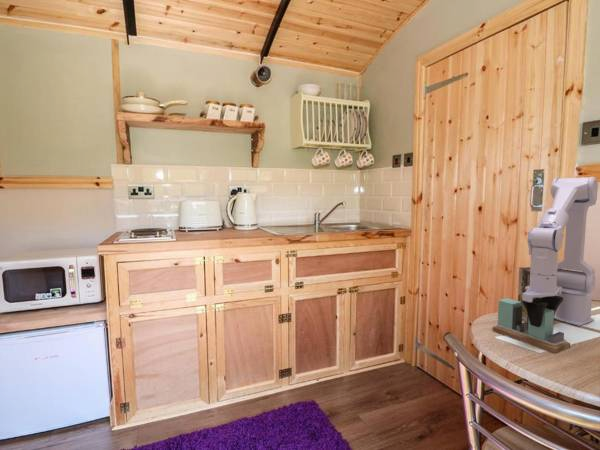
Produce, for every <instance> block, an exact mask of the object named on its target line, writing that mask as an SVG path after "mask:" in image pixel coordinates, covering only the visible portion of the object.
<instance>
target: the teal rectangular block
mask: <svg viewBox="0 0 600 450" xmlns="http://www.w3.org/2000/svg"><path fill="white" fill-rule="evenodd" d="M553 321H555V319H554V310H551V309H547V308H545V310H544V313H543V317H542V323H541V326H540V327H536V326H532V325H530V321H529V317H528V313H527V330H528V334H529V335H532V336H535V337H538V338H541V339H547V338H549V336H550V335H552V334H554V325H553Z"/></svg>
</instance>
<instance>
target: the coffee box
mask: <svg viewBox="0 0 600 450" xmlns="http://www.w3.org/2000/svg"><path fill="white" fill-rule="evenodd" d="M517 286H518V287H517V290H518V291H517V301H520V302H521V305H522V306H523V308H522V321H524V322H527V310H526V308H525V306H524V304H523V303H522V301H521V298H522V294H523V293H525V292H526V291H527V290H526V289H525V287H526V286H530V266H528V267H526V266H525V267H518V285H517ZM554 321H555V320H554ZM554 321H553V326H554V324H555V323H554Z"/></svg>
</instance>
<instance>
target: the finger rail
mask: <svg viewBox="0 0 600 450" xmlns="http://www.w3.org/2000/svg"><path fill="white" fill-rule="evenodd" d="M522 308H523V306H522V305H521V302H520V301H518V300H515V299H511V298H508V297H507V298H503V299H499V300H498V308H497V324H496V325H495V326H493V327H492V331H493V332H494V333H496V334H497V333H498V334H499V335H503V336H506V337H508V338H512V339H514V340H517V341H519V342H522V343H525V344H528V345H531V346H533V347H535V348H536V347H537V348H539V349H542V350H544V351H546V352H550V353H552V354H558V353H560V352H562V351H564V350H568V349H569V348H571V342H570V341H567V339H565V333H564V332H562V331H557V332H555V333H553V334H552V335H550V336H549V338H547V339H541V338H538V337H535V336H532V335H529V334H528V330H527V322H526V321H524V322H523V319H522Z"/></svg>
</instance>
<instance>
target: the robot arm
mask: <svg viewBox="0 0 600 450" xmlns="http://www.w3.org/2000/svg"><path fill="white" fill-rule="evenodd" d="M598 185H599V184H598V179H597V178H596V177H595V176H588V177H585V176H584V177H562V178H559V177H555V178H554V179H553V181H552V182H551V185H550V195H551V196H552V199H553V200H552V204H551V207H550V208H547V209H546V210H545V211H543V213H542V215H541V217H540V219H539V221H538V223H537V226H535V227H533V228H530V230H529V231H528V235H527V246H528V255H529V256H530V266H529V267H530V286H526V287H525V289H526V290H527V291H526V292H525V293H523V294H522V298H521V301H522V303H523V304H524V306H525V308H526V310H527V313H528V317H529V321H530V325H532V326H536V327H540V326H541V323H542V317H543V313H544V310H545V308H547V309H551V310H554V320H557V321H561V322H563V323H567V324H570V325H574V326H583V325H585V324H587V323H590V322H594V321H595V318H594V317H592V305H593V304H592V303H593V301H592V300H593V299H592V297H591V295H590V294H591V293H593V292H594V290H595V287H596V275H595V274H596V273H595V272H596V271H595V268H594V267H593V266H592V265H590V264H589V263H588V262H587V261H585V260H584V257H585V243H586V230H587V229H586V227H587V216H588V210H589V207H592V206H595V205H596V202H597V200H598ZM564 232H565V234H564ZM564 236H565V237H564ZM563 240H564V252H563V259H562V260H559V251H560V250H561V249H562V246H563Z"/></svg>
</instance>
